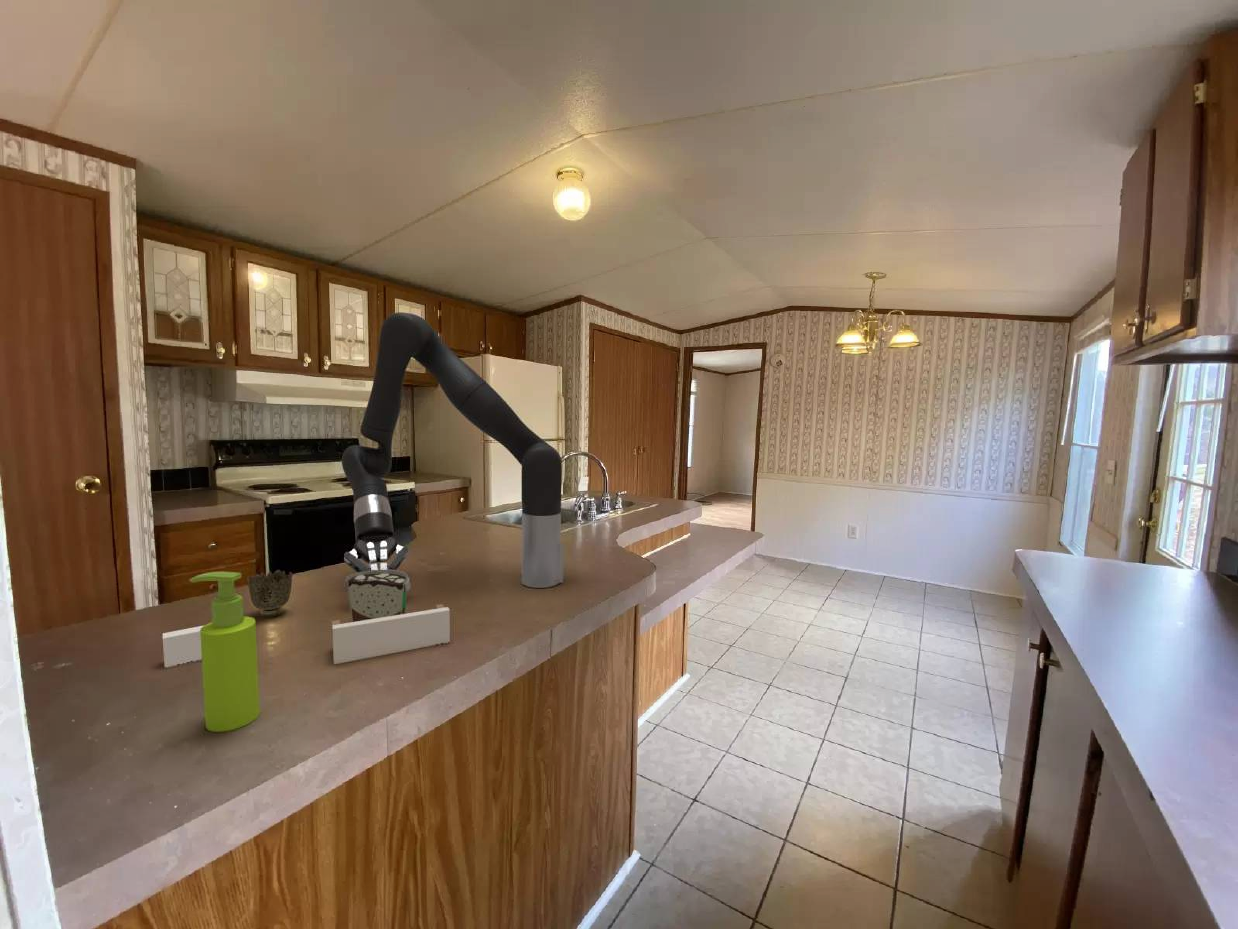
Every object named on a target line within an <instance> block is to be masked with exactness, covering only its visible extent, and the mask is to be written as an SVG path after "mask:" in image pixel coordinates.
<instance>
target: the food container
mask: <svg viewBox="0 0 1238 929" xmlns="http://www.w3.org/2000/svg"><path fill="white" fill-rule="evenodd" d="M343 586H344V587H343V588H347V594H348V602H349V604H348V605H349V610H350V611H349V612H350V619H351V622H357V621H363V620H369V619H376V618H382V617H388V616H395V615H401V614H406V602H407V592H408V591H409V590H410V589H411V586H412V584H411V581H410V578H409V576H408V574H407V572H404V571H402V570H398V569H397V570H388V569H383V570H380V569H378V570H370V571H364V572H359V573H357V572H356V573H353V574H350V575H348V576H346V579H345V580H344V585H343Z"/></svg>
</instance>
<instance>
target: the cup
mask: <svg viewBox="0 0 1238 929" xmlns="http://www.w3.org/2000/svg"><path fill="white" fill-rule="evenodd" d="M292 581H293V572H291V571H290V572H289V573H288V574H286V571H285V570H283V571H282V570H280V569H277V570H276V571H274V572H273V573H272V572H271V571H270V570H268V572H267V574H265V573H264V572H260V574H258V573H255V575H254V576H253V575H250V577H247V578H246V582H247V586H248V593H249V596H250V600H251V604H252V605H253V607H255V608H256V609H258V610H260V615H261V616H262V617H264V618H274V616H275V617H278V616H279V615H281V614H282V613H283V611H284V609H283V606H285V605H286V604H287V603H288V602H289V599H290V598H291V592H292V583H293V582H292Z"/></svg>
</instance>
